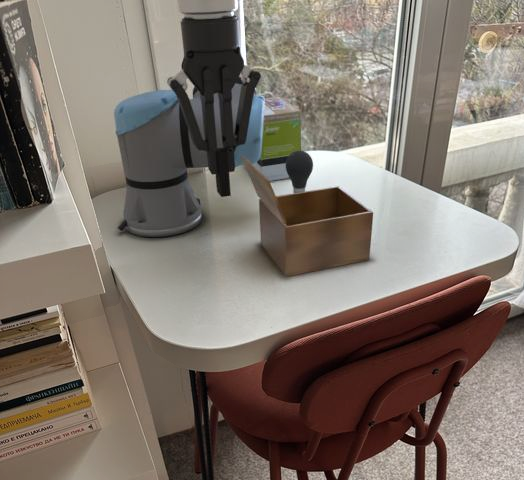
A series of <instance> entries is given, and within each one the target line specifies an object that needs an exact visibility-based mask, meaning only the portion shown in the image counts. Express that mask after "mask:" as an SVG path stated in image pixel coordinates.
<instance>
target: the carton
mask: <svg viewBox="0 0 524 480" xmlns="http://www.w3.org/2000/svg"><path fill="white" fill-rule="evenodd" d="M275 196H276V198H277V201H278V203H279V206H280V208H281V211H282V213H283V216H284V218H285V221H286V223H285V224H284V223H283V222H282V221H281V220H280V219H279V218H278V217H277V216H276V215H275V214H274V213H273V212H272V210H271V209H270V208H269V207H268V206H267V205H266V204H265V203H264V202H263V201H262V200H261V199H260V198H259V199H258V211H259V233H260V234H259V235H260V245H261V246H262V247H263V249H264V250H265V251H266V253H267V254H268V256H269V257H270V258H271V260H273V262H274V263H275V264H276V265H277V267H278V268H279V269H280V271H282V273H283V275H285V277H291V276H297V275H301V274H307V273H311V272H315V271H321V270H326V269H331V268H335V267H341V266H347V265H351V264H355V263H361V262H367V261H370V257H371V246H372V245H371V243H372V235H373V221H374V211H373V210H371V209H370V208H369V207H368V206H366V205H365V204H363V203H362V202H361V201H359V200H358V199H357V198H355V197H354V196H352V195H351V194H350V193H349V192H348V191H346V190H345V189H343V188H342V187H341V186H339V185H335V186H329V187H323V188H317V189H312V190H305V192H299V193H293V192H292V193H288V194H282V195H275Z"/></svg>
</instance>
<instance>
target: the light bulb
mask: <svg viewBox="0 0 524 480" xmlns="http://www.w3.org/2000/svg"><path fill="white" fill-rule="evenodd" d="M313 170H314V161H313V158H312V156H311V155H310V154H309V152H306V151H305V150H302V149H301V150H298V151H294V152H293V153H291V154H290V155H289V156H288V158H287V160H286V171H287V174H288V175H289V177H290V178H289V179H290V181H291V185H292V188H293V192H292V194H293V193H299V192H305V191H306V187H307V183H308V180H309V178H310V176H311V174H312V173H313Z"/></svg>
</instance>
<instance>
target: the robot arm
mask: <svg viewBox="0 0 524 480" xmlns="http://www.w3.org/2000/svg"><path fill="white" fill-rule="evenodd" d="M177 3H178V4H177V5H178V11H179V12H180V14H182V15H183V16H184V17H183V18H181V21H180V29H181V40H182V48H183V59H182V61H181V69H180V70H179V71H178V72H177V73H176V74H175V75H174V76H170V77H168V78H167V81H166V83H167V85H168V86H169V88H170V89H157V90H151V91H147V92H143V93H138V94H136V95H133V96H130V97H128V98H125V99H123V100H121V101H119V102H118V103H117V105H116V106H115V108H114V111H113V116H114V124H115V135H116V137H117V142H118V148H119V152H120V159H121V162H122V168H123V174H124V178H125V183H126V192H125V200H124V207H123V213H122V214H123V215H122V217H123V219H122V220H123V221H122V222H121V223H120V225H119V226H118V227H117V229H118V230H119V231H120V232H123V231H124V229H125V230H126V231H127V232H129V233H131V234H132V235H135V236H139V237H145V238H163V237H171V236H176V235H180V234H184V233H186V232H188V231H190V230H193V229H195V228H196V227H197V226H198V225H199V224H201V222H202V220H203V216H202V215H203V213H202V208H201V199H199V198H198V197H197V196H196V194H195V192H194V189H193V188H192V185H191V184H190V182H189V177H188V169H197V168H198V169H201V168H207V169H208V171H209V173H210V174H211V175H212V176H213V175H214V176H215V184H216V193H218V195H219V196H220V198H225V197H231V196H232V193H231V181H230V173H234V172H235V170H236V168H238V167H240V166H245V165H244V163H243V160H242V158H241V157H242V156H244V157H245V158H246V159H247V160H248V161H249V162H250V163H251V164H254V163H256V162H257V161H258V160H259V159H260V156H261V150H262V139H263V123H264V104H265V100H264V99H265V96H263V95H260V94H258V93H257V89H256V88H257V86H258V85H259V82H260V80H261V78H262V76H261V73H260V72H259V71H257V70H255V69H254V68H251V67H249V66H248V65H247V55H246V54H247V53H246V35H245V16H244V0H177ZM187 79H188V81H190V83H191V84H192V85H193V88H192V98H190V97H189V95H188V94H187V92H186V91H187V90H188V86H189V85H188V83H187Z"/></svg>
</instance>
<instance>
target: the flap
mask: <svg viewBox="0 0 524 480" xmlns="http://www.w3.org/2000/svg"><path fill="white" fill-rule="evenodd" d="M241 158H242V160H243V163H244V165H243V166H244V167H245V170H246V172H247V174H248V177H249V179H250V181H251V183H252V186H253V188H254V191H255V193H256V195H257V197H258V198H259V199H261V200H262V201H263V202H264V203H265V204H266V205H267V206H268V207H269V208H270V209H271V210H272V212H273V213H274V214H275V215H276V216H277V217H278V218H279V219H280V220H281V221H282V222H283V223H284V224H285V223H286V221H285V218H284V216H283V213H282V211H281V208H280V206H279V203H278V201H277V198H276V196H277V195H276V193H275V191H274V188H273V186H272V183H271V181H269V180H268V179H267V178H266V177H265V176H264V175H263V174H262V173H261V172H260V171H259V170H258V169H257V168H255V167H254V166H253V165H252V164H251V163H250V162H249V161H248V160H247V159H246V158H245V157H244V156H242V157H241Z"/></svg>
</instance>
